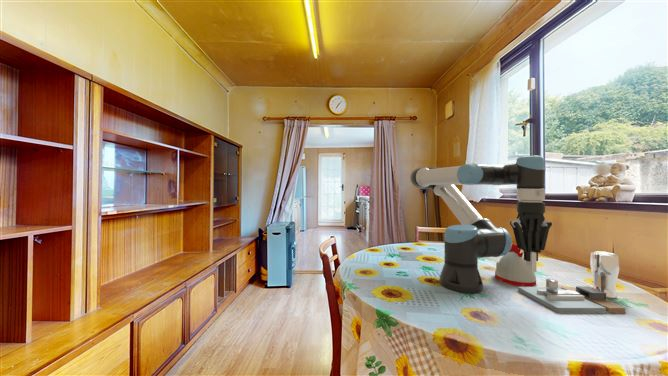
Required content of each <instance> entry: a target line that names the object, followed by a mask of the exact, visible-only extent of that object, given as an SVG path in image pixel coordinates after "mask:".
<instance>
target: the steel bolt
mask: <svg viewBox="0 0 668 376" xmlns="http://www.w3.org/2000/svg"><path fill="white" fill-rule="evenodd" d="M545 287H546V291H544V294H546V295H580V293H578V292H575V291H558V287H559V281H558V280H557V279H554V278H546V279H545Z"/></svg>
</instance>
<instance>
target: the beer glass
mask: <svg viewBox="0 0 668 376" xmlns="http://www.w3.org/2000/svg"><path fill="white" fill-rule="evenodd" d="M589 260H590V261H589V263H590V271H591V275H592V278H593V279H592V280H593V287H592V288H594V289H597V290H600V291H602V292H605V293H606V299H617V298H618V294H617V291H616V290H617V289H616V285H617V281H618V277H619V273H620V260H619V255H618V254H617V253H612V252H606V251H599V250H597V251H596V250H594V251H593V250H592V251H591V252H590V259H589Z"/></svg>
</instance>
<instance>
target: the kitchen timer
mask: <svg viewBox="0 0 668 376" xmlns="http://www.w3.org/2000/svg"><path fill="white" fill-rule="evenodd" d="M511 244H512V246H511V249H510V251H509V252H508V253H507V254H506V255H503V256H501V258H500V259H499V261H497V262H496V264H495V265H496V266H495V267H496V268H495V272H494V277H495V279H496V280H497V281H500V282H502V283H505V284H508V285H511V286H517V287H524V286H525V287H529V286H530V287H531V286H532V287H536V285H537V276H536V272H531V271H528V270H526V261H525V260H524V251H522V250H521V249H519V248H518V247H517V244H515V243H511ZM521 251H522V252H521Z"/></svg>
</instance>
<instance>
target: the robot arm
mask: <svg viewBox="0 0 668 376" xmlns="http://www.w3.org/2000/svg"><path fill="white" fill-rule="evenodd" d="M545 167H546V165H545V158H544V156H542V155H527V156H524V155H523V156H519V157H517V158H516V162H515V163H512V164H480V163H479V164H477V163H465V164H462V165H457V166H449V167H443V166H440V167H433V166H431V167H430V166H429V167H425V166H421V167H420V166H419V167H417V168H415V169H414V170H412V172H411V173H410V177H409V178H410V179H409V180H410V182H411V184H412V185H413V187H415V188H417V189H420V190H431V191H432V193H434V195H435V196H439V197H440V198H441V199H442V200H443V202H444V203H445V204H446V206H447V207H448V208H449V210H450V211H451V212H452V214H454V216H455V218H456V219H457V220H458V221H459V223H460V224H454V225H453V224H452V225H449V226H448V227H446V228H445V229H444V236H443V240H444V242H443V243H444V259H443V261H444V262H443V263H444V264H443V267H442V269H441V272H440V274H439V284H440V285H442V286H443V287H444V288H446V289H449V290H451V291H454V292H459V293H464V294H475V293H481V292H483V290H484V283H483V279H482V277H481V274H480V271H479V269H478V262H479V259H481V258H482V259H483V258H484V259H485V258H498V257H503V256H504V255H506V254H507V253H508V252H509V251H510V249H511V246H512V244H513V243H512V242H513V240H512V236H511V234H510V232H509V231H508V230H507V229H506V228H503V227H501V226H496V225H495V224H494V223H493V222H492V220H491V219H488V218H483V216H482V215H481V214H480V213H479V212H478V210H477V209H476V208H475V206H473V205H472V204H471V202H470V201H469V200H468V199H467V198H466V197H465V196H464V194H462V192H461V191H460V189H458V187H457V185H461V186H463V185H465V186H467V185H469V186H473V185H477V186H478V185H484V186H485V185H488V186H489V185H491V186H506V185H507V186H508V185H516V201H517V202H516V212H517V216H516V219H514V221H513V220H512V221H510V222H509V225H510V226H511V228H512V230H513V235H514V239H515V242H516V245H517V247H518V249H521V251H522V252H523V256H524V260H525V261H526V270H528V271H531V272H534V273H537V262H538V261H539V254H540V253H542V251H544V250H545V249H546V244H547V240H548V237H549V236H548V235H549V232H550V229H551V227H552V226H553V223H552V222H551V221H548V220H546V218H545V216H544V214H545V213H546V203H545V202H543V201H545V199H546V187H545V180H546V179H545V177H546V176H545V175H546V168H545Z"/></svg>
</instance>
